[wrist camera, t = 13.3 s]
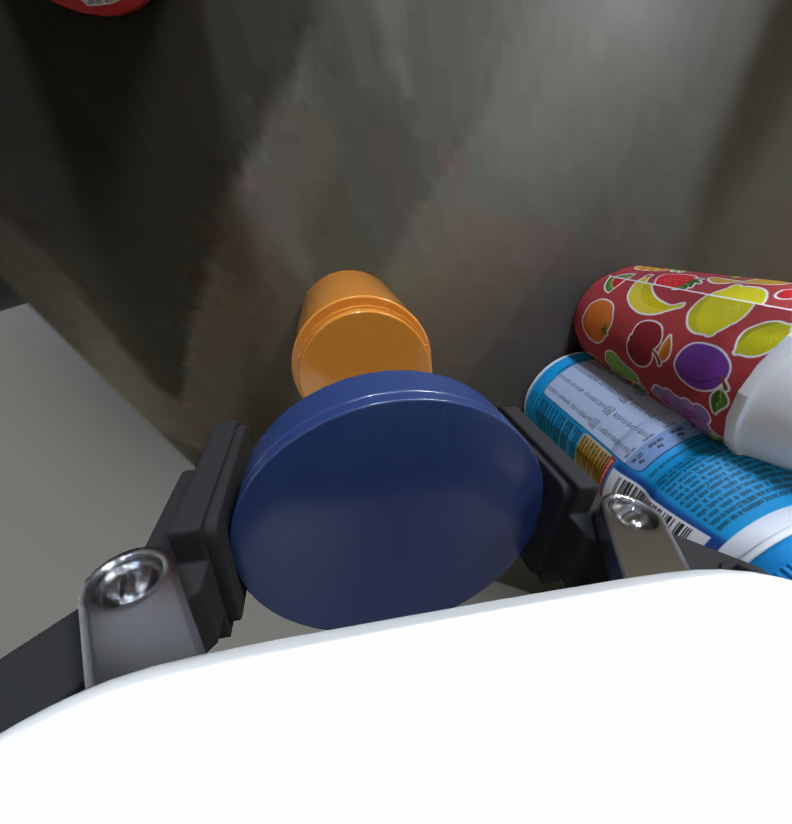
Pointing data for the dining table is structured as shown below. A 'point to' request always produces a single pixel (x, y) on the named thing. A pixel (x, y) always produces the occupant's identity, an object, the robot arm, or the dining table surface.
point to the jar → (354, 333)
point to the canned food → (104, 6)
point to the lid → (383, 501)
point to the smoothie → (700, 350)
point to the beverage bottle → (665, 462)
